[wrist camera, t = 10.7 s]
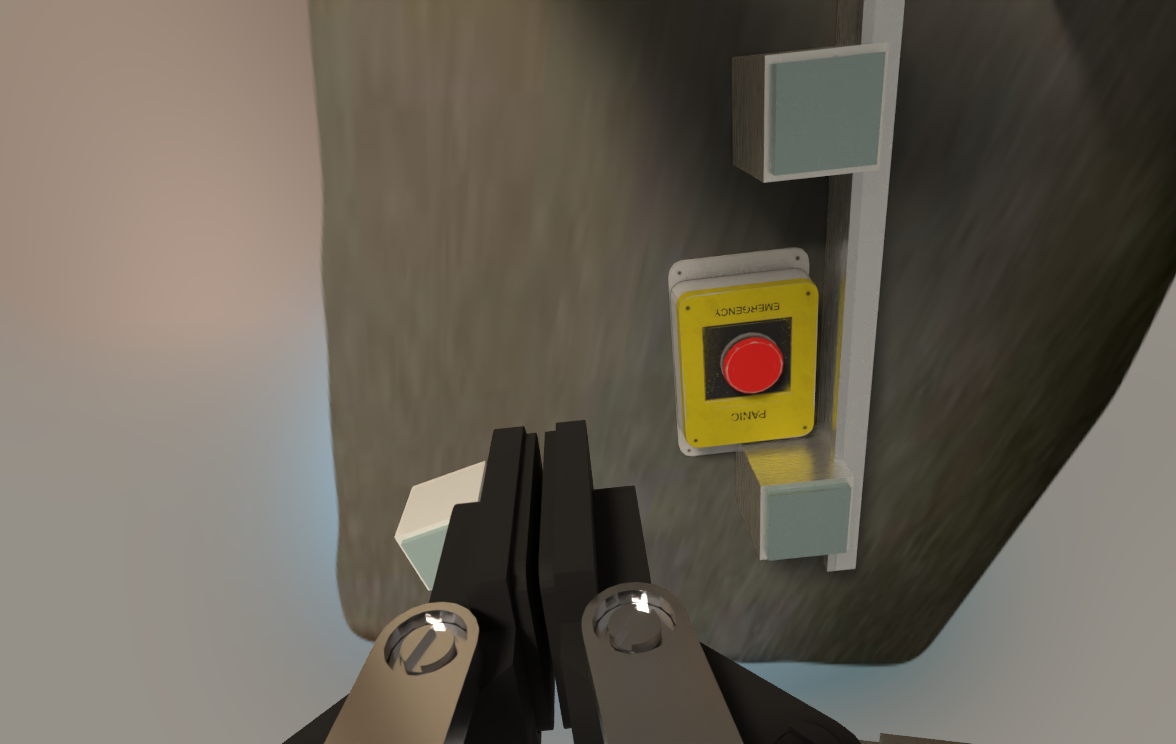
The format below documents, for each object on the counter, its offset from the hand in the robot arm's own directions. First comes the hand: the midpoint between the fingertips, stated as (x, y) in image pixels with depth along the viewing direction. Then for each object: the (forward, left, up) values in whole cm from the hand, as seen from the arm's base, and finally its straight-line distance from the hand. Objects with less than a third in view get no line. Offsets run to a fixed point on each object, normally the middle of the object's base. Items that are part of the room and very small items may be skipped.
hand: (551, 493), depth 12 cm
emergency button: (+13, +11, -33) cm, 37 cm away
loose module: (+22, -10, -32) cm, 40 cm away
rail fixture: (+9, +15, -32) cm, 36 cm away
